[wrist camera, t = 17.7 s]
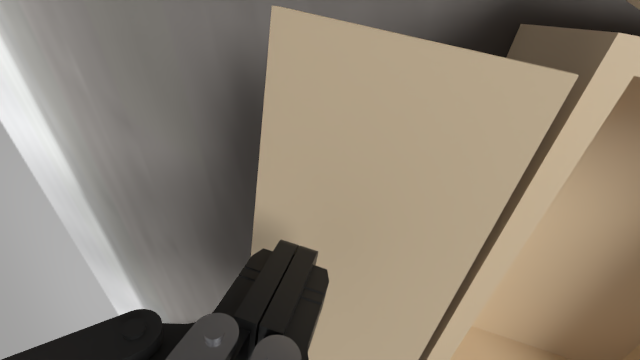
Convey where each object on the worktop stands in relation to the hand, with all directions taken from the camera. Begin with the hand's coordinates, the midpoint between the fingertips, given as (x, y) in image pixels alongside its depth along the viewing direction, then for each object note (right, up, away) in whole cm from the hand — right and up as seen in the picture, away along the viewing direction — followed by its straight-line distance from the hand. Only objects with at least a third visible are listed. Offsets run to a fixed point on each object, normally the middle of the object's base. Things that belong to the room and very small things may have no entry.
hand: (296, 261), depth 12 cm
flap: (+6, -2, -1) cm, 6 cm away
